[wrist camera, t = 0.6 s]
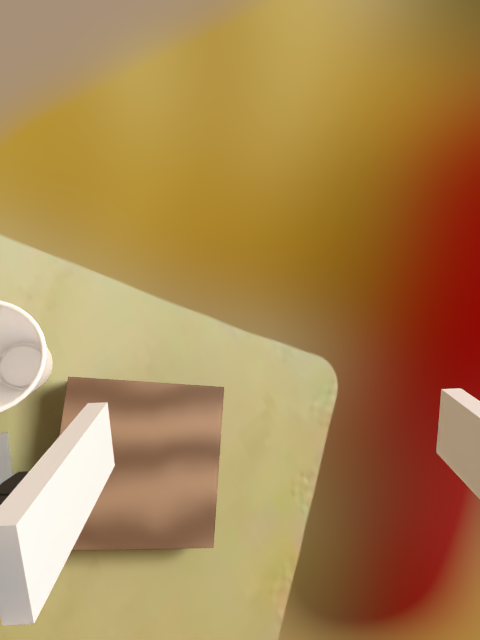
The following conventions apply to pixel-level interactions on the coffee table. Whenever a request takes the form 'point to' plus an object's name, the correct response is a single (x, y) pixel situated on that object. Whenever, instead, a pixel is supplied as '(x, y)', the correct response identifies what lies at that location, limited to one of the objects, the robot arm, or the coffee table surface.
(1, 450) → the grey block
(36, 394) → the coffee table surface
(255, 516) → the coffee table surface
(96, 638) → the coffee table surface
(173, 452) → the walnut block
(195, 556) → the coffee table surface
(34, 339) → the cup
